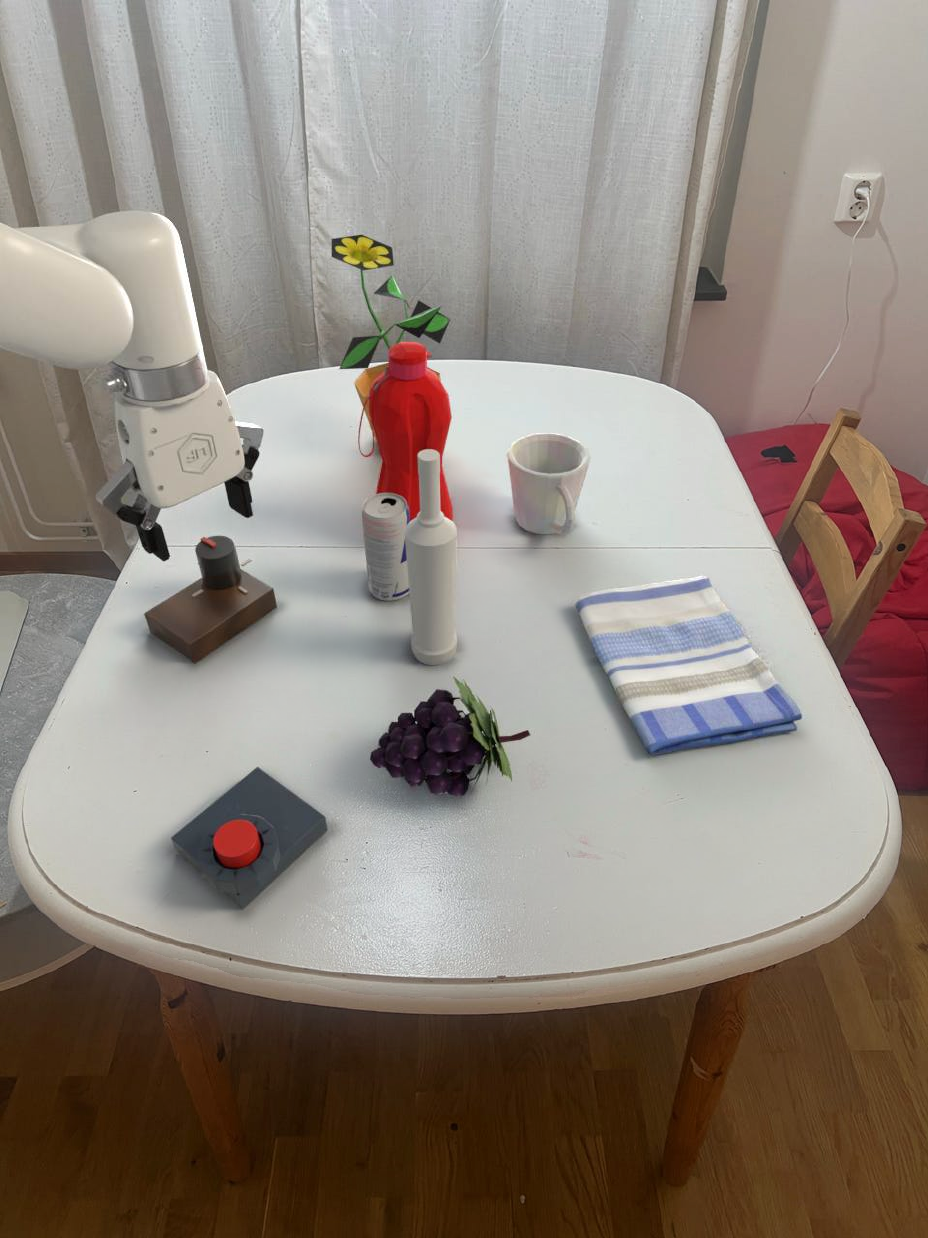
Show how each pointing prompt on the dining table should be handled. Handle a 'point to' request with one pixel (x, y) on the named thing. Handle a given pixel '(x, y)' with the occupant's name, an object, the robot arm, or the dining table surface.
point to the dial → (218, 562)
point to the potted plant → (362, 349)
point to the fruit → (443, 743)
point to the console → (209, 615)
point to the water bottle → (408, 423)
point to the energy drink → (386, 545)
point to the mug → (547, 481)
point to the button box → (279, 826)
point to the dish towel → (683, 666)
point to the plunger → (237, 843)
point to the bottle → (431, 569)
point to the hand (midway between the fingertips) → (201, 532)
